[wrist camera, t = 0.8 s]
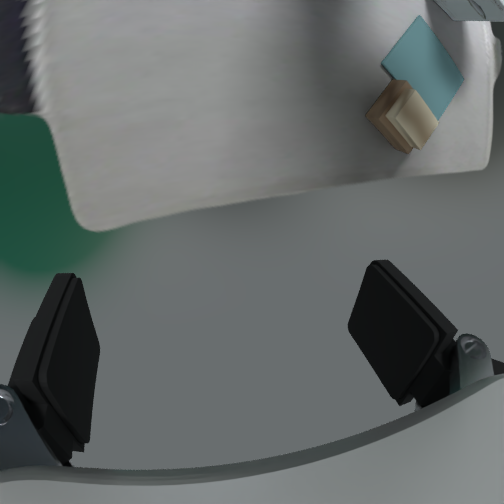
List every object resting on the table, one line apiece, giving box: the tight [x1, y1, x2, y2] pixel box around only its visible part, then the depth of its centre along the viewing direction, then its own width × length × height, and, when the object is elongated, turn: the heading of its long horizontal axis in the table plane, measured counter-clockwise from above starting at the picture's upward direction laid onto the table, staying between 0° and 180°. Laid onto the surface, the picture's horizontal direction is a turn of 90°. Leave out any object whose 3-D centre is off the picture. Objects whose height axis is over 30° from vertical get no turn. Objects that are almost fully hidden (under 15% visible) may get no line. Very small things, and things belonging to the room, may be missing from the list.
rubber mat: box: [381, 15, 464, 120], centre depth 32 cm, size 12×13×1 cm
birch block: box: [386, 88, 439, 150], centre depth 31 cm, size 5×6×2 cm
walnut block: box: [365, 79, 414, 154], centre depth 33 cm, size 7×7×3 cm
